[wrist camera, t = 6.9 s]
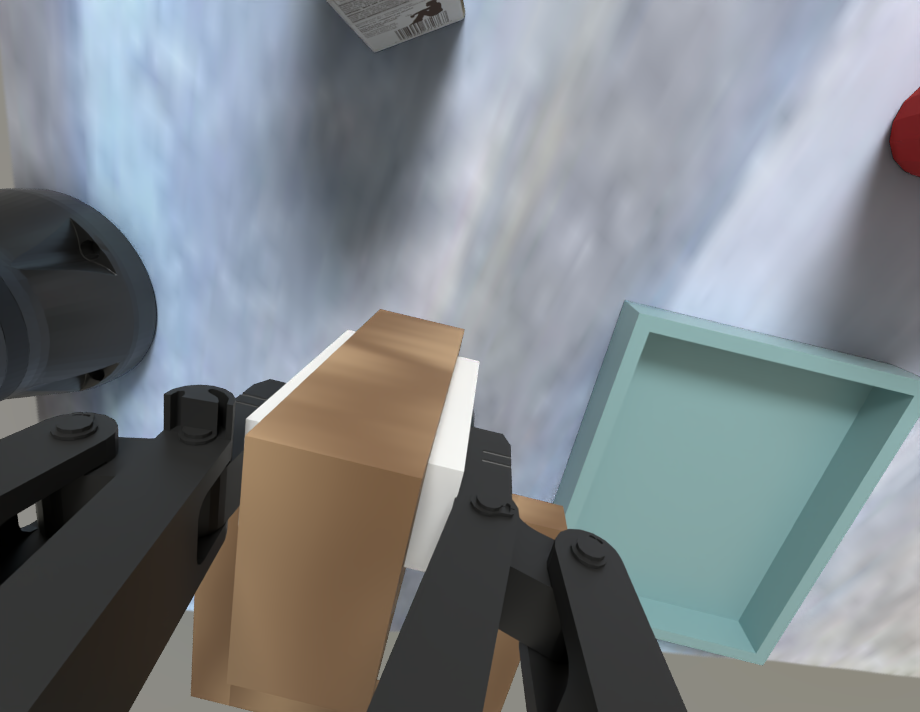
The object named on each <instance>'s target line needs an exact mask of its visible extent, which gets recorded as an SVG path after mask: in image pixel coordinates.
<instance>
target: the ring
mask: <svg viewBox="0 0 920 712" xmlns="http://www.w3.org/2000/svg"><path fill="white" fill-rule="evenodd" d="M464 330H465V329H461V328H457V327H452V326H448V325H444V324H440V323H436V322H432V321H428V320H423V319H419V318H415V317H411V316H407V315H403V314H398V313H394V312H390V311H386V310H382V309H380V310H379V311H378V312H377V313H376V314H375V315H373V316H372V317H371V318H370V319H369V320H368V321H367V322H366V323H365V324H364V325H363V326H362V327H361V328H360V329H358V330H357V331H356V332H355V333H354V334H353V335H352V336H351V337H350V338H349V339H348V340H347V341H346V342H345V343H343V344H342V345H341V346H340V347H339V348H338V349H337V350H336V351H335V352H334V353H333V354H332V355H331V356H330V357H329V358H327V359H326V360H325V361H324V362H323V363H322V364H321V365H320V366H319V367H318V368H317V369H316V370H315V371H314V372H312V373H311V374H310V375H309V376H308V377H307V378H306V379H305V380H304V381H303V382H302V383H301V384H300V385H299V386H297V387H296V388H295V389H294V390H293V391H292V392H291V393H290V394H289V395H288V396H287V397H286V398H285V399H284V400H283V401H281V402H280V403H279V404H278V405H277V406H276V407H275V408H274V409H273V410H272V411H271V412H270V413H269V414H268V415H266V416H265V417H264V418H263V419H262V420H261V421H260V422H259V423H258V424H257V425H256V426H255V427H254V428H253V429H251V430H250V431H249V432H248V433H247V434H246V435H245V443H244V456H243V470H242V483H241V497H240V511H239V507H238V508H237V510H236V511H235V512H234V513H233V514H232V516H231V517H230V518H229V519H228V527H227V534H226V538H225V541H224V543H223V545H222V546H221V548H220V550H219V552H218V553H217V555H216V557H215V559H214V561H213V562H212V564H211V566H210V568H209V570H208V571H207V573H206V575H205V577H204V578H203V580H202V582H201V584H200V586H199V587H198V589H197V591H196V593H195V598H194V626H193V654H192V680H191V696H193V697H197V698H201V699H205V700H209V701H213V702H217V703H221V704H225V705H229V706H234V707H237V708H241V709H245V710H249V711H253V712H366V711H367V709H368V707H369V704H370V702H371V700H372V697H373V695H374V692H375V690H376V688H377V685H378V683H379V681H380V680H377V677H378V673H379V670H380V666H381V662H382V658H383V654H384V650H385V646H386V643H387V639H388V635H389V631H390V627H391V623H392V620H393V616H394V612H395V608H396V604H397V600H398V596H399V593H400V589H401V585H402V581H403V577H404V573H405V569H406V567H404V564H405V560H406V556H407V551H408V547H409V543H410V539H411V534H412V530H413V526H414V521H415V517H416V513H417V509H418V504H419V500H420V496H421V491H422V487H423V483H424V479H425V474H426V470H427V466H428V462H429V458H430V455H431V451H432V447H433V444H434V440H435V437H436V433H437V429H438V426H439V422H440V419H441V415H442V411H443V408H444V404H445V401H446V397H447V393H448V390H449V386H450V383H451V379H452V375H453V372H454V368H455V365H456V361H457V357H458V355H459V351H460V347H461V342H462V338H463V334H464ZM512 500H513V501H514V502H515V504H516V505H517V507H518V508H519V517H520V518H521V520H522V521H523V522H525V523H526V524H527V525H528V526H530V527H531V528H533V529H534V530H536V531H538V532H540V533H542V534H544V535H546V536H548V537H550V538H552V539H554V540H555V538H556V537H557V535H558V534H559V533H560V532H561V531H564V530H567V524H566V519H565V513H564V508H563V506H561V505H556V504H552V503H548V502H544V501H540V500H536V499H532V498H528V497H524V496H519V495H515V494H512ZM238 520H239V524H238ZM519 662H520V653H519V641H518V640H516V639H514V638H513V637H511V636H509V635H508V634H506V633H504V632H502V631H501V630H499V629H498V633H497V638H496V644H495V649H494V654H493V660H492V665H491V670H490V676H489V681H488V686H487V692H486V697H485V702H484V708H483V712H501V709H502V707H503V704H504V702H505V699H506V696H507V694H508V691H509V689H510V686H511V683H512V681H513V678H514V675H515V672H516V670H517V667H518V665H519Z"/></svg>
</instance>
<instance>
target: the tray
mask: <svg viewBox="0 0 920 712" xmlns="http://www.w3.org/2000/svg"><path fill="white" fill-rule="evenodd" d="M919 417H920V377H919V376H917V375H914V374H912V373H910V372H908V371H905V370H903V369H901V368H898V367H896V366H894V365H891V364H887V363H883V362H879V361H875V360H871V359H867V358H863V357H858V356H854V355H850V354H846V353H842V352H838V351H833V350H829V349H825V348H821V347H817V346H813V345H809V344H804V343H800V342H796V341H792V340H788V339H784V338H779V337H775V336H771V335H767V334H763V333H759V332H755V331H750V330H746V329H742V328H738V327H734V326H730V325H726V324H721V323H717V322H713V321H709V320H705V319H701V318H696V317H692V316H688V315H684V314H680V313H676V312H672V311H667V310H663V309H659V308H655V307H651V306H647V305H643V304H638V303H634V302H630V301H626V300H625V301H624V304H623V307H622V310H621V313H620V315H619V318H618V321H617V324H616V327H615V330H614V332H613V335H612V338H611V341H610V344H609V347H608V349H607V352H606V355H605V358H604V361H603V364H602V366H601V369H600V372H599V375H598V378H597V381H596V383H595V386H594V389H593V392H592V395H591V398H590V400H589V403H588V406H587V409H586V412H585V415H584V417H583V420H582V423H581V426H580V429H579V432H578V434H577V437H576V440H575V443H574V446H573V449H572V451H571V454H570V457H569V460H568V463H567V466H566V468H565V471H564V474H563V477H562V480H561V483H560V485H559V488H558V491H557V494H556V497H555V500H554V503H553V504H556V505H561V506H563V508H564V513H565V519H566V524H567V529H581V530H584V531H587V532H590V533H593V534H595V535H597V536H599V537H600V538H602V539H604V540H605V541H607V542H608V543H609V544H610V545H611V546H612V547H613V548H614V549H615V550H616V551H617V553H618V554H619V556H620V557H621V559H622V561H623V563H624V566H625V568H626V570H627V573H628V575H629V577H630V579H631V582H632V584H633V586H634V589H635V591H636V593H637V596H638V598H639V600H640V603H641V605H642V607H643V610H644V612H645V614H646V617H647V619H648V621H649V624H650V626H651V628H652V631H653V633H654V635H655V638H656V639H659V640H663V641H667V642H671V643H675V644H679V645H683V646H687V647H691V648H695V649H699V650H703V651H707V652H711V653H715V654H719V655H723V656H727V657H731V658H735V659H739V660H743V661H747V662H751V663H755V664H759V665H763V664H764V663H765V661H766V660H767V658H768V657H769V655H770V653H771V652H772V650H773V649H774V647H775V645H776V644H777V642H778V641H779V639H780V638H781V636H782V634H783V633H784V631H785V630H786V628H787V626H788V625H789V623H790V622H791V620H792V618H793V617H794V615H795V614H796V612H797V611H798V609H799V607H800V606H801V604H802V603H803V601H804V599H805V598H806V596H807V595H808V593H809V591H810V590H811V588H812V587H813V585H814V583H815V582H816V580H817V579H818V577H819V576H820V574H821V572H822V571H823V569H824V568H825V566H826V564H827V563H828V561H829V560H830V558H831V556H832V555H833V553H834V552H835V550H836V549H837V547H838V545H839V544H840V542H841V541H842V539H843V537H844V536H845V534H846V533H847V531H848V529H849V528H850V526H851V525H852V523H853V522H854V520H855V518H856V517H857V515H858V514H859V512H860V510H861V509H862V507H863V506H864V504H865V502H866V501H867V499H868V498H869V496H870V494H871V493H872V491H873V490H874V488H875V487H876V485H877V483H878V482H879V480H880V479H881V477H882V475H883V474H884V472H885V471H886V469H887V467H888V466H889V464H890V463H891V461H892V460H893V458H894V456H895V455H896V453H897V452H898V450H899V448H900V447H901V445H902V444H903V442H904V440H905V439H906V437H907V436H908V434H909V433H910V431H911V429H912V428H913V426H914V425H915V423H916V421H917V420H918V418H919Z"/></svg>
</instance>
